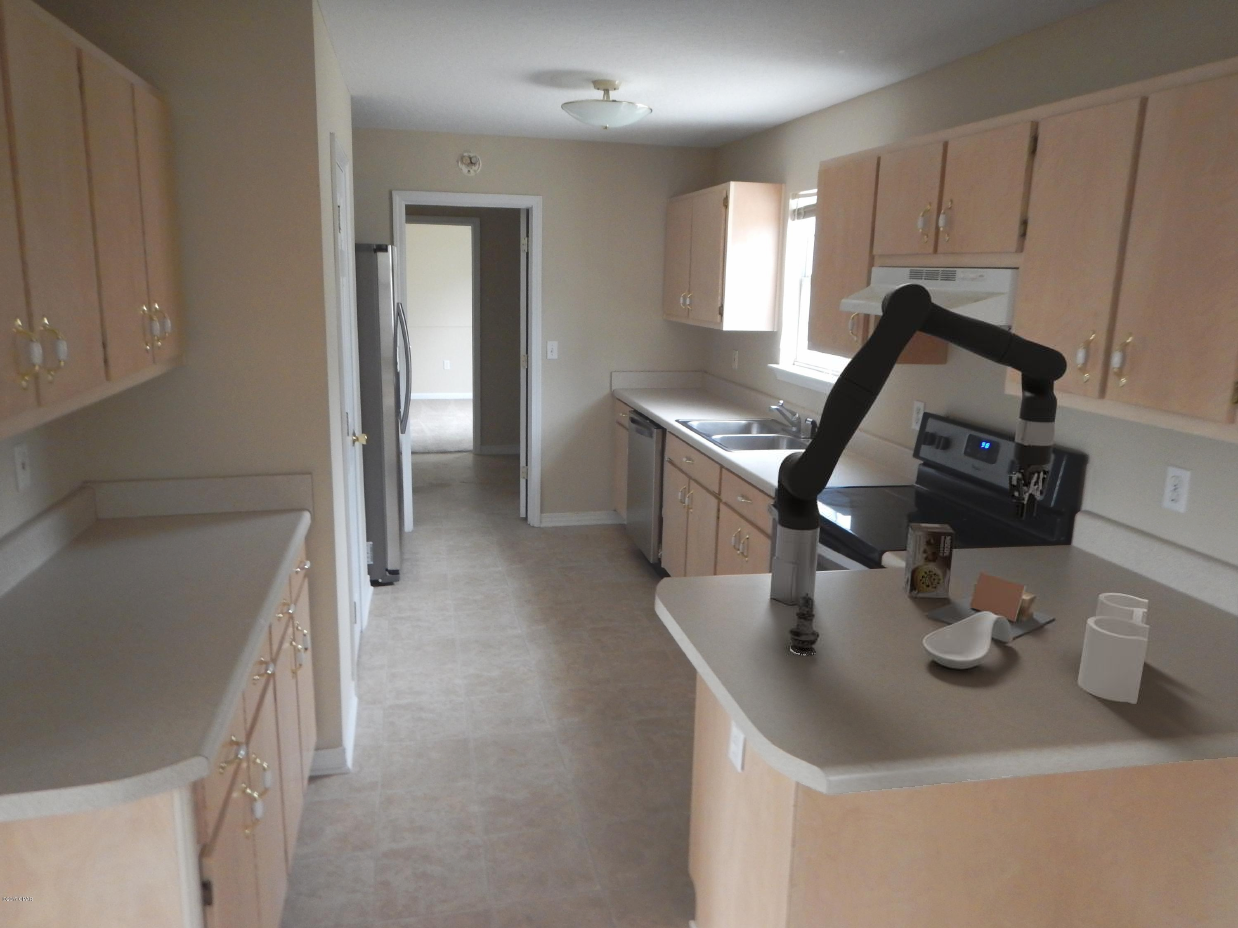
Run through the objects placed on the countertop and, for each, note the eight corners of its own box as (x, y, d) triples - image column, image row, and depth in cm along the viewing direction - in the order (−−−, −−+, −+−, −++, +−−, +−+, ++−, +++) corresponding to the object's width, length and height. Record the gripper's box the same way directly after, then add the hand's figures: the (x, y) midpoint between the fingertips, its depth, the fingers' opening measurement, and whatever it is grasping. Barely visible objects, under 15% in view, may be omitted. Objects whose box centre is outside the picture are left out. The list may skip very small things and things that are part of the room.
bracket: (1088, 645, 181) (1096, 588, 178) (1143, 657, 176) (1152, 599, 173) (1074, 691, 160) (1084, 628, 158) (1136, 706, 155) (1147, 642, 153)
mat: (1004, 643, 180) (1004, 641, 180) (925, 615, 194) (925, 613, 194) (1055, 619, 194) (1055, 617, 194) (978, 594, 208) (978, 593, 208)
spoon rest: (965, 683, 162) (969, 646, 161) (909, 660, 171) (912, 626, 169) (1028, 648, 177) (1032, 615, 175) (973, 629, 186) (976, 597, 184)
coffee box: (941, 589, 210) (948, 523, 207) (948, 599, 204) (956, 531, 201) (901, 587, 211) (908, 521, 208) (907, 596, 205) (914, 529, 202)
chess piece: (819, 646, 176) (824, 589, 173) (815, 658, 171) (820, 599, 168) (789, 642, 178) (794, 585, 175) (785, 653, 172) (789, 595, 170)
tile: (1012, 622, 190) (1017, 587, 188) (969, 608, 198) (973, 574, 196) (1021, 619, 193) (1026, 584, 191) (978, 604, 200) (982, 571, 198)
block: (1024, 621, 191) (1027, 599, 190) (972, 604, 200) (974, 583, 199) (1033, 617, 194) (1036, 595, 193) (981, 600, 203) (984, 579, 202)
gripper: (1033, 434, 199) (1023, 508, 203) (1000, 441, 190) (991, 518, 194) (1067, 440, 193) (1056, 516, 197) (1035, 447, 184) (1024, 526, 188)
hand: (1024, 516), depth 195 cm, fingers open, 4 cm apart
